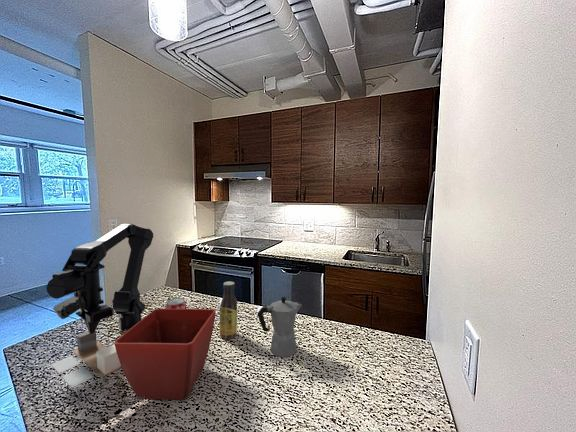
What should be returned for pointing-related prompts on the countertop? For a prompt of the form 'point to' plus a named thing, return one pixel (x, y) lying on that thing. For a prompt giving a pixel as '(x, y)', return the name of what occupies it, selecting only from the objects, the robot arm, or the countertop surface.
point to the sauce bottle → (228, 312)
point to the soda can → (176, 303)
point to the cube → (107, 359)
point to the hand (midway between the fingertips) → (91, 333)
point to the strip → (90, 351)
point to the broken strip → (75, 376)
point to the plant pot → (166, 352)
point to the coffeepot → (281, 326)
